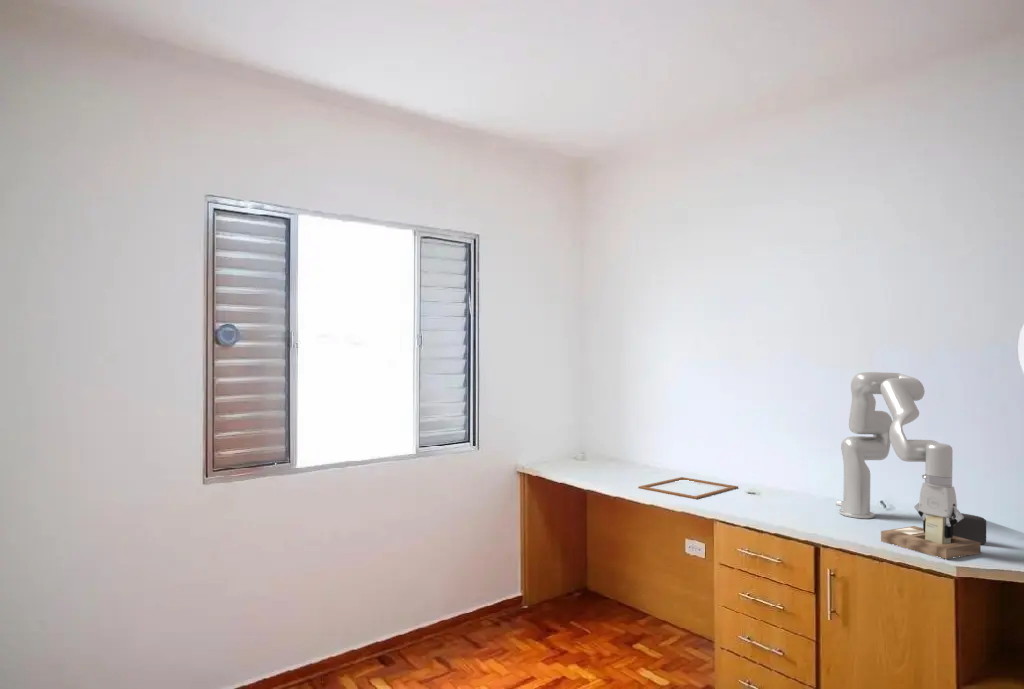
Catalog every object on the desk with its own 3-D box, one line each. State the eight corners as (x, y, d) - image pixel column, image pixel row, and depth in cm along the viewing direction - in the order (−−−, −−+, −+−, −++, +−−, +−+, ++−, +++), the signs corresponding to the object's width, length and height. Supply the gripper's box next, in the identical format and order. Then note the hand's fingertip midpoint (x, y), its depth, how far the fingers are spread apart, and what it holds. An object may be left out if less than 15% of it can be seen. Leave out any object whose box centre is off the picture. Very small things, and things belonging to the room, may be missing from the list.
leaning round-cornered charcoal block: (986, 543, 226) (987, 516, 226) (986, 546, 222) (986, 518, 222) (931, 534, 236) (931, 508, 236) (929, 537, 232) (929, 510, 233)
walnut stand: (880, 541, 226) (881, 530, 226) (914, 535, 234) (914, 525, 234) (946, 559, 206) (946, 547, 206) (980, 553, 214) (980, 541, 214)
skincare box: (924, 543, 220) (924, 507, 220) (933, 542, 221) (933, 506, 221) (942, 548, 214) (943, 511, 214) (952, 547, 215) (952, 510, 216)
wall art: (638, 486, 310) (681, 476, 336) (638, 489, 310) (681, 479, 336) (696, 497, 288) (738, 486, 314) (696, 500, 288) (738, 489, 314)
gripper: (906, 476, 224) (905, 529, 224) (958, 486, 208) (958, 543, 208) (920, 475, 227) (919, 527, 227) (973, 485, 212) (972, 540, 211)
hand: (938, 534), depth 218 cm, fingers closed on skincare box, 6 cm apart
